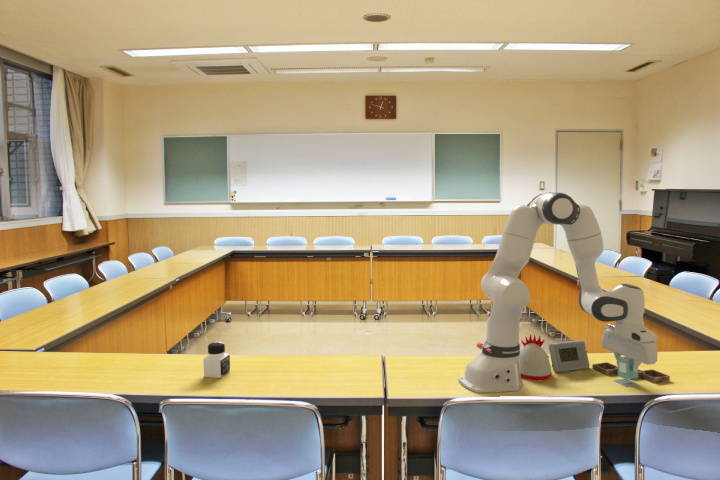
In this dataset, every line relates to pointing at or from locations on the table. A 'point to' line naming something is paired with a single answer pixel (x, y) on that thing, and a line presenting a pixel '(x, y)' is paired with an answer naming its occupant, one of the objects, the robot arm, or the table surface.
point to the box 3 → (654, 376)
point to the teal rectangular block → (626, 368)
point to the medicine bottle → (216, 361)
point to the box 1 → (605, 368)
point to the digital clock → (568, 356)
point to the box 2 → (638, 373)
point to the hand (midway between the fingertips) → (627, 368)
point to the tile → (626, 382)
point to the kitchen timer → (534, 360)
